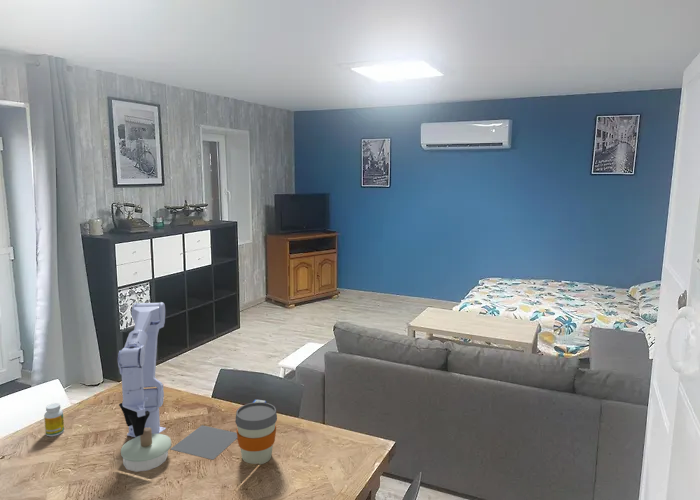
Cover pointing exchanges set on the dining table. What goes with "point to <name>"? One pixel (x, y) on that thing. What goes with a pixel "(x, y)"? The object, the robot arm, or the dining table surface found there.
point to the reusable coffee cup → (256, 431)
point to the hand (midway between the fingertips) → (135, 430)
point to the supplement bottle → (54, 420)
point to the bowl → (145, 463)
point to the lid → (146, 446)
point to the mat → (206, 442)
